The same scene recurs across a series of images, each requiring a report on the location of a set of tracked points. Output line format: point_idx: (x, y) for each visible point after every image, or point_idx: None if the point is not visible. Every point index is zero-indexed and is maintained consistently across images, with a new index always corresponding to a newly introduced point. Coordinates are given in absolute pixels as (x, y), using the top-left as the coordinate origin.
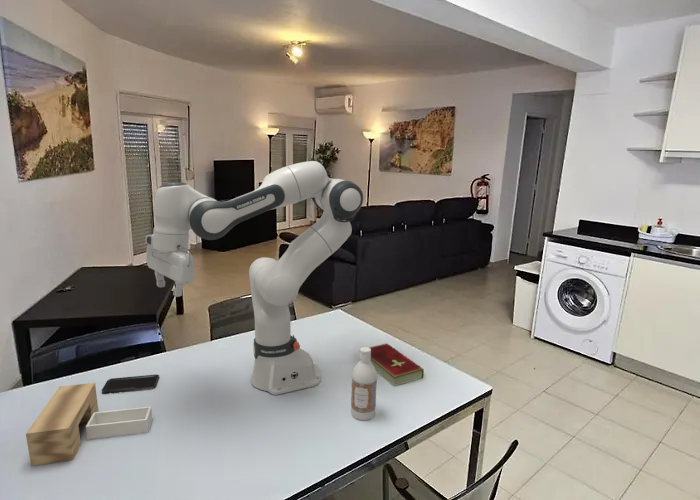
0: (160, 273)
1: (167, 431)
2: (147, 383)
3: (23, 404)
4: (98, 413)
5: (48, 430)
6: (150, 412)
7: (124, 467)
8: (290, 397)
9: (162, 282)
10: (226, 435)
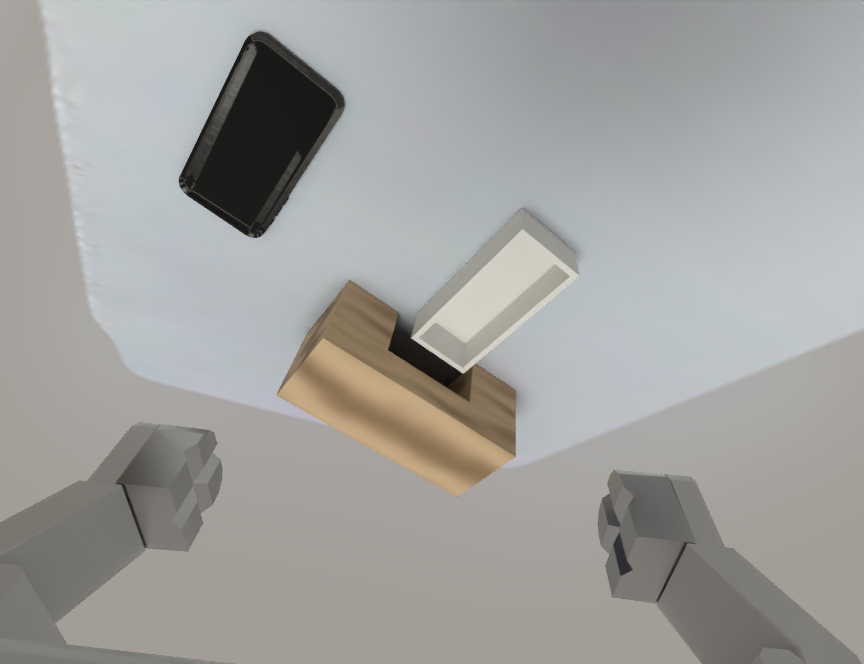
0: (41, 625)
1: (628, 216)
2: (297, 106)
3: (192, 366)
4: (424, 331)
5: (484, 476)
6: (536, 235)
7: (647, 349)
8: None
9: (182, 500)
10: (860, 101)
